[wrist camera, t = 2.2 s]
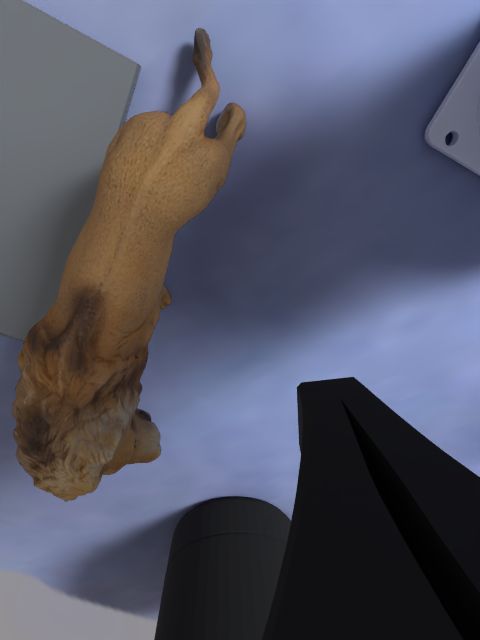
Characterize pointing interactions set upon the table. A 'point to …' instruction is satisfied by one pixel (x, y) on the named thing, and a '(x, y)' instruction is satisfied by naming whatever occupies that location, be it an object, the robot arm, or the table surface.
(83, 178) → the rubber mat
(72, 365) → the lion figurine
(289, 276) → the table surface
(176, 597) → the pen holder
